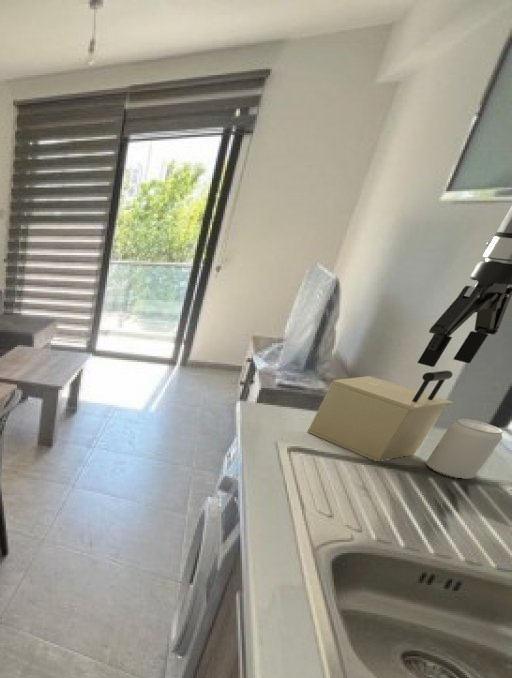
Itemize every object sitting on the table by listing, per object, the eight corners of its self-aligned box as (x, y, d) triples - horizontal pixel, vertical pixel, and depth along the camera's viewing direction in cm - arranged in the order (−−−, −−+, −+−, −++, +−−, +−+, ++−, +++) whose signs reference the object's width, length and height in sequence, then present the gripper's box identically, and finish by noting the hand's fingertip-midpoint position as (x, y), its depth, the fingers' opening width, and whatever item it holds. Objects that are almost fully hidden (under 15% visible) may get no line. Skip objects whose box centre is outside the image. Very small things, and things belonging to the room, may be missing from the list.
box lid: (452, 405, 111) (472, 373, 108) (414, 410, 107) (434, 377, 103) (368, 378, 126) (384, 350, 122) (331, 383, 121) (346, 353, 117)
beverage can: (475, 475, 111) (509, 429, 105) (467, 484, 107) (502, 437, 101) (429, 459, 117) (458, 415, 111) (420, 468, 112) (450, 422, 107)
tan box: (414, 454, 119) (447, 403, 112) (377, 462, 114) (409, 409, 107) (342, 426, 132) (368, 379, 126) (307, 431, 128) (331, 383, 121)
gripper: (514, 259, 103) (455, 354, 114) (447, 258, 95) (389, 360, 106) (564, 265, 97) (497, 365, 107) (497, 264, 89) (431, 372, 100)
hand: (443, 363), depth 107 cm, fingers open, 13 cm apart
